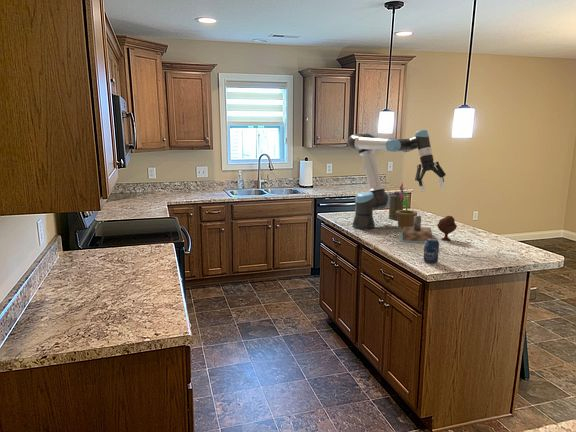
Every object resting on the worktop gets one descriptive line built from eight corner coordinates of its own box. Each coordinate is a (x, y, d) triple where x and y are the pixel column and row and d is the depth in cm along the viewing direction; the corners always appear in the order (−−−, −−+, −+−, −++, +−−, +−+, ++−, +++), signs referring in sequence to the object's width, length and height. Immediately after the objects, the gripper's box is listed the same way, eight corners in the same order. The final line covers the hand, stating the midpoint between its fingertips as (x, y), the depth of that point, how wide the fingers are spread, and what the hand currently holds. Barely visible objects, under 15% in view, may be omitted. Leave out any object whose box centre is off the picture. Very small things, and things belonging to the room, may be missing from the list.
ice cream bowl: (452, 237, 265) (454, 213, 262) (457, 242, 254) (459, 217, 251) (434, 237, 266) (436, 213, 263) (439, 242, 255) (440, 217, 252)
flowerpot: (397, 223, 304) (399, 181, 298) (418, 225, 298) (420, 182, 292) (392, 227, 292) (394, 183, 286) (414, 229, 286) (417, 184, 280)
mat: (399, 241, 257) (399, 240, 257) (399, 233, 276) (399, 232, 276) (435, 243, 252) (435, 242, 252) (432, 235, 271) (432, 234, 271)
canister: (391, 216, 329) (392, 190, 325) (404, 218, 323) (406, 191, 319) (385, 218, 320) (387, 192, 316) (399, 220, 314) (400, 193, 310)
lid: (402, 240, 258) (403, 218, 256) (402, 233, 274) (403, 213, 271) (431, 241, 254) (433, 219, 252) (429, 235, 270) (431, 214, 267)
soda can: (424, 263, 215) (425, 240, 212) (422, 259, 221) (424, 237, 219) (438, 264, 213) (440, 241, 211) (436, 260, 220) (438, 237, 218)
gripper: (411, 156, 256) (418, 191, 255) (447, 151, 263) (454, 185, 262) (405, 159, 263) (411, 193, 262) (439, 154, 270) (446, 187, 269)
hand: (433, 189), depth 262 cm, fingers open, 13 cm apart
